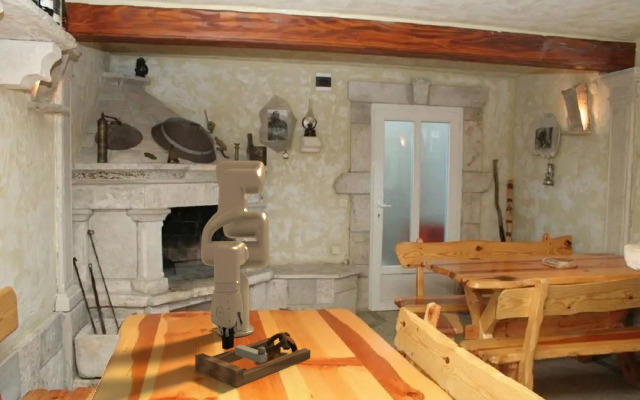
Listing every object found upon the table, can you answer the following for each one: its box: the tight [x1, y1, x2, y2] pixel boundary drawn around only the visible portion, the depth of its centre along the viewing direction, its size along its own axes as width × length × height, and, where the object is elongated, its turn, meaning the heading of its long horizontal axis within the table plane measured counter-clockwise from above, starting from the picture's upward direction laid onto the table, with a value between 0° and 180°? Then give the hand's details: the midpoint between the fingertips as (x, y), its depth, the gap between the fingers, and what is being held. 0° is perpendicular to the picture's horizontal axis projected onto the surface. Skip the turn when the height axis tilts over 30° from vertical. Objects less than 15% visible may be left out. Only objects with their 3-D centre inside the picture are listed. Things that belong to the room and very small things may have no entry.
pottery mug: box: [264, 331, 299, 358], centre depth 160 cm, size 12×10×8 cm
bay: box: [194, 337, 311, 388], centre depth 153 cm, size 18×28×4 cm, turn 139°
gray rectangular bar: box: [234, 344, 268, 364], centre depth 150 cm, size 11×2×4 cm, turn 49°
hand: (228, 348), depth 157 cm, fingers closed
